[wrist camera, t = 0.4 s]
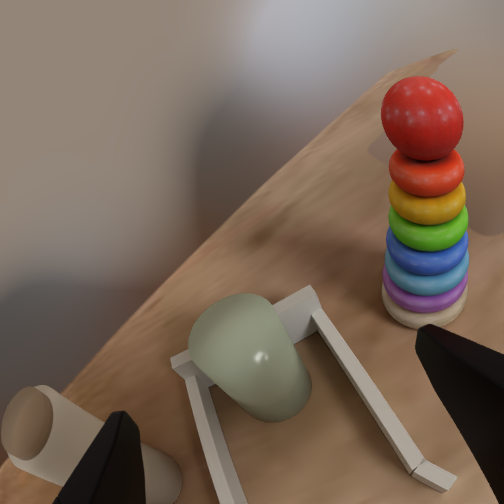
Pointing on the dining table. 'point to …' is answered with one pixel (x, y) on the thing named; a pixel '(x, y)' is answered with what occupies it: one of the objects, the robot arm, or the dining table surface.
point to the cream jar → (71, 442)
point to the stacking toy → (425, 205)
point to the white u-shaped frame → (314, 319)
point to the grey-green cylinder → (251, 357)
